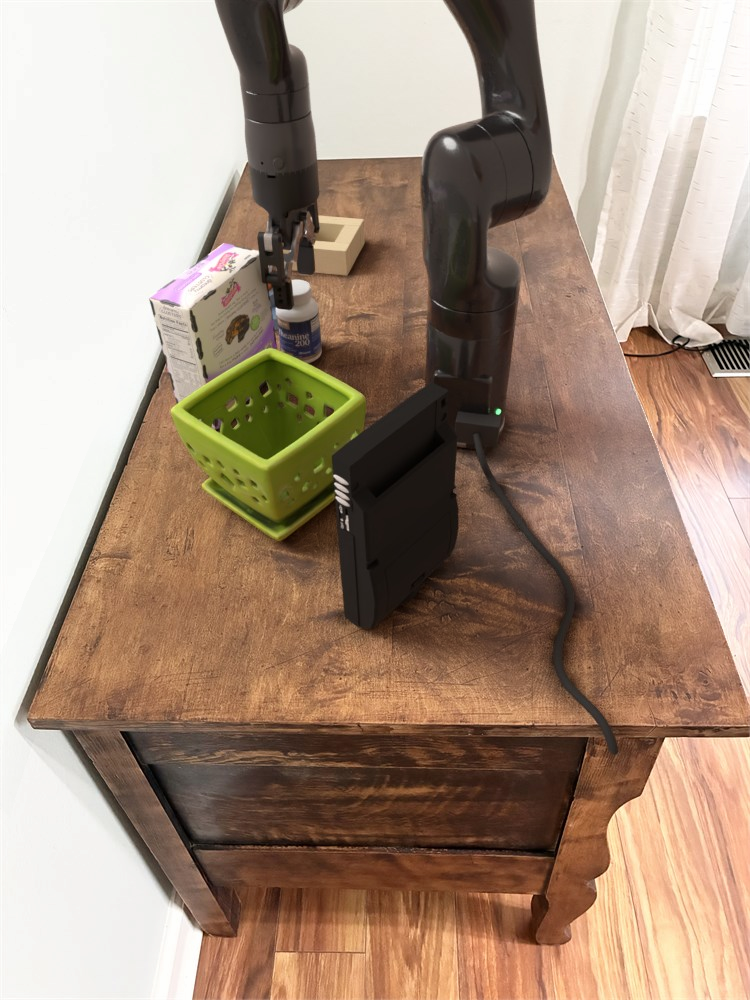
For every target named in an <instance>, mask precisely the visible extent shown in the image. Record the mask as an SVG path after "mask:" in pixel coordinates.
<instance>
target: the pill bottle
mask: <svg viewBox="0 0 750 1000" xmlns="http://www.w3.org/2000/svg"><path fill="white" fill-rule="evenodd" d="M291 280H292V289H293V298H294V306H293V308H292V309H291V310H284V309H278V308H276V317H277V324H278V330H277V331H278V338H279V339H278V340H279V346H280V351H281V352H284V353H286V354H288V355H291V356H293V357H295V358H297V359H299V360H301V361H303V362H305V363H307V364H311V363H313V362H315V361H317V360H318V359H319V358H320V357H321V355H322V351H323V348H322V346H323V345H322V335H321V323H320V311H319V310H320V309H319V305H318V304H319V303H318V302H317V300H316V299H315V298H313V292H312V287H311V284H310V283H309V282H308V281H306V280H303V279H291Z"/></svg>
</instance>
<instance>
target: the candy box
mask: <svg viewBox="0 0 750 1000" xmlns="http://www.w3.org/2000/svg"><path fill="white" fill-rule="evenodd" d="M148 300H149V304H150V306H151V312H152V316H153V319H154V323H155V326H156V330H157V334H158V337H159V342H160V346H161V349H162V353H163V357H164V361H165V365H166V369H167V372H168V376H169V380H170V384H171V386H172V387H171V388H172V391H173V395H174V399H175V403H176V404H178V403H179V402H180V401H182V400H183V399H184V398H186V397H187V396H189V395H190V394H192V393H193V392H195V391H196V390H197V389H199V388H201V387H202V386H204V385H205V384H207V383H208V382H210V381H211V380H213V379H215V378H216V377H218V376H219V375H221V374H223V373H224V372H226V371H228V370H229V369H231V368H233V367H234V366H236V365H238V364H239V363H241V362H243V361H245V360H246V359H248V358H250V357H252V356H254V355H256V354H257V353H259V352H261V351H263V350H265V349H268V348H273V349H276V350H278V343H277V337H276V330H275V329H274V322H273V315H272V309H271V302H270V296H269V289H268V284H264V283H262V276H261V267H260V258H259V250H257V249H253V248H248V247H245V246H238V245H236V244H235V245H234V244H231V243H227V242H226V243H225V242H223V243H222V244H221V245H218V247H216V248H215V249H213V250H212V251H211V252H210V253H208V254H207V255H206V256H204V257H203V258H201V259H199V261H198V262H196V263H195V264H193V265H191V266H190V267H189V268H188V269H186V270H184V271H183V272H181V274H179V275H178V276H176V277H174V279H172V280H171V281H170V282H168V283H167V284H165V285H164V286H163V287H161V288H160V289H158V290H157V291H156V292H154V293H153V294H151V295H150V296H148ZM265 384H267V382H266V381H264V382H263V383H262V384H261V385H260V386H259V389H262V387H264V385H265ZM248 401H250V397H249V398H247V400H246V403H247V402H248ZM234 404H235V400H234V397H233V398H231V399H230V400H229V401H228V402H227V403H226V408H227V410H229V409H230V408H231V407H232V406H234ZM199 420H200V421H201V419H199ZM211 428H212V429H214V430H216V431H217V430H220V428H221V420H220V419H214V421H213V424H212V427H211Z"/></svg>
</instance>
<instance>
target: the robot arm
mask: <svg viewBox="0 0 750 1000" xmlns="http://www.w3.org/2000/svg"><path fill="white" fill-rule="evenodd" d="M303 2H304V0H214V3H215V8H216V12H217V14H218V18H219V21H220V24H221V27H222V30H223V32H224V35H225V38H226V42H227V44H228V47H229V50H230V53H231V55H232V57H233V60H234V62H235V65H236V67H237V70H238V77H239V85H240V93H241V100H242V106H243V116H244V117H243V118H244V141H245V148H246V155H247V157H246V158H247V164H248V172H249V178H250V186H251V193H252V200H253V201H254V203H255V204H256V205H257V206H259V207H260V208H262V209H263V210H265V212H266V213H267V214H268V216H267V217H268V219H267V222H266V223H267V224H266V231H258V233H257V236H256V241H257V249H258V251H259V258H260V267H261V276H262V283H264V284H272V286H273V294H274V302H275V306H276V308H278V309H284V310H291V309H292V308H293V306H294V298H293V289H292V280H293V279H292V273H293V270H292V266H293V263H295V262H296V261H297V271H296V272H298V273H299V274H301V275H308V276H312V275H314V273H315V258H314V246H313V245H314V244H315V242H316V237H315V234H314V233H319V230H320V226H319V217H318V215H319V209H318V208H319V206H318V199H319V197H320V181H319V179H320V178H319V169H318V168H319V167H318V151H317V139H316V137H317V136H316V130H315V125H314V120H313V114H312V103H311V88H310V77H309V68H308V61H307V59H306V56H305V54H304V52H303V51H302V50H301V49H300V48H299V47H298V46H296V45H294V44H292V43H290V42H289V39H288V34H287V31H286V26H285V25H286V24H285V19H284V15H285V14H288V13H289V12H291V11H293V10H294V9H296V8H297V7H299V6H300V5H301V4H302V3H303ZM442 2H443V3H444V5H445V7H446V8H447V10H448V11H449V13H450V14H451V16H452V17H453V20H454V21H455V22H456V24H457V27H459V29H460V31H461V32H462V34H463V37H464V39H465V41H466V43H467V45H468V47H469V51H470V53H471V56H472V59H473V63H474V67H475V71H476V77H477V83H478V91H479V97H480V106H481V117H480V118H476V119H474V120H469V121H466V122H462V123H458V124H454V125H450V126H448V127H444V128H442V129H440V130H438V131H437V132H435V133H434V134H432V136H431V137H430V138H429V140H428V141H427V144H426V146H425V148H424V150H423V154H422V159H421V165H420V178H419V184H420V185H419V187H420V188H419V190H420V191H419V192H420V213H421V214H420V215H421V217H420V218H421V244H422V245H421V248H422V249H421V251H422V258H423V263H424V267H425V271H426V275H427V305H426V306H427V309H426V312H427V313H426V337H425V339H426V341H425V342H426V343H425V345H426V346H425V375H424V376H425V379H424V387H425V386H426V385H428V384H429V383H431V382H433V383H435V384H437V385H439V386H441V387H443V388H445V389H447V390H449V395H448V398H447V403H448V409H447V419H446V421H447V422H448V424H449V425H450V426H451V428H452V429H453V430H454V432H455V433H456V434H457V448H463V449H469V450H470V449H471V450H475V451H476V452H475V453H476V456H477V459H478V462H479V465H480V468H481V470H482V473H483V475H484V476H485V478H486V480H487V482H488V483H489V485H490V487H491V489H492V491H493V492H494V494H495V495H496V496H497V498H498V499H499V501H500V502H501V504H502V505H503V507H504V508H505V511H506V512H507V513H508V515H509V516H510V517H511V519H512V520H513V522H514V523H515V524H516V526H517V527H518V528H519V530H520V531H521V533H522V534H523V536H524V537H525V539H526V540H527V541H528V542H529V543H530V544H531V545H532V547H533V548H534V549H535V550H536V552H538V553H539V554H540V555H541V556H542V557H543V558H544V560H545V561H547V563H548V564H549V565H550V566H551V568H552V569H553V571H554V572H555V573H556V574H557V576H558V578H559V580H560V583H561V584H562V588H563V590H564V594H565V610H564V614H563V617H562V619H561V622H560V624H559V627H558V630H557V633H556V636H555V638H554V643H553V651H552V658H553V659H552V661H553V665H554V670H555V673H556V676H557V678H558V680H559V682H560V683H561V685H562V687H563V688H564V689H565V691H566V692H567V693H568V694H569V695H570V697H572V698H573V699H574V700H575V701H576V702H577V703H578V704H579V705H580V706H581V707H582V708H583V709H584V710H585V711H586V712H587V713H588V714H589V715H590V717H592V719H593V720H594V722H596V724H597V725H598V727H599V728H600V730H601V732H602V734H603V738H604V739H605V742H606V746H607V750H608V751H609V752H610V753H609V754H612V755H618V754H619V747H618V742H617V739H616V736H615V734H614V732H613V729H612V727H611V725H610V724H609V721H608V720H607V718H606V717H605V715H604V714H603V713H602V712H601V711H600V709H599V708H597V706H596V705H595V704H594V703H593V702H592V701H591V700H590V699H589V698H587V697H586V696H585V695H584V694H583V693H582V692H581V691H580V690H579V689H578V688H577V686H576V685H574V683H573V682H572V680H571V679H570V677H569V675H568V673H567V670H566V669H565V666H564V665H565V664H564V661H563V647H564V643H565V639H566V636H567V633H568V631H569V628H570V626H571V623H572V619H573V617H574V612H575V607H576V598H575V592H574V591H575V590H574V588H573V584H572V581H571V579H570V577H569V575H568V574H567V572H566V570H565V569H564V567H563V566H562V564H560V562H559V561H558V560H557V559H556V557H555V556H554V555H553V554H552V553H551V552H550V551H549V550H548V549H547V548H546V547H545V546H544V544H542V543H541V542H540V540H539V539H538V538H537V537H536V535H535V534H534V533H533V531H531V529H530V528H529V526H528V525H527V523H526V522H525V521H524V519H523V518H522V517H521V515H520V514H519V513H518V512H517V510H516V508H515V507H514V506H513V504H512V503H511V502H510V500H509V499H508V497H507V496H506V495H505V493H504V491H503V489H502V488H501V486H500V484H499V483H498V481H497V479H496V477H495V475H494V474H493V472H492V470H491V468H490V466H489V463H488V461H487V457H486V454H485V450H486V447H491V448H497V447H498V443H499V437H500V436H501V434H502V433H503V431H504V428H505V420H506V419H505V414H506V413H505V412H506V406H507V395H508V388H509V387H508V386H509V378H510V370H511V362H512V356H513V355H512V354H513V347H514V337H515V330H516V321H517V314H518V307H519V298H520V290H521V281H522V269H521V265H520V264H519V262H518V260H517V259H516V258H515V257H514V256H513V255H512V254H511V253H508V252H507V251H505V250H503V249H501V248H499V247H495V246H492V245H488V234H489V233H488V232H489V230H491V229H493V228H497V227H499V226H501V225H506V224H508V223H511V222H513V221H516V220H520V219H522V218H524V217H527V216H530V215H532V214H533V213H535V212H536V211H538V210H539V209H540V208H541V207H542V206H543V205H544V202H545V201H546V199H547V198H548V195H549V192H550V189H551V185H552V181H553V169H554V156H553V144H552V143H553V142H552V134H551V126H550V125H551V124H550V117H549V112H548V104H547V97H546V92H545V91H546V89H545V84H544V77H543V70H542V63H541V56H540V48H539V39H538V30H537V18H536V5H535V0H442ZM311 217H312V221H311V219H310V218H311ZM283 250H291V251H290V252H289V253H288V254H285V253H283ZM284 261H285V262H286V263H285V266H284Z"/></svg>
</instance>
